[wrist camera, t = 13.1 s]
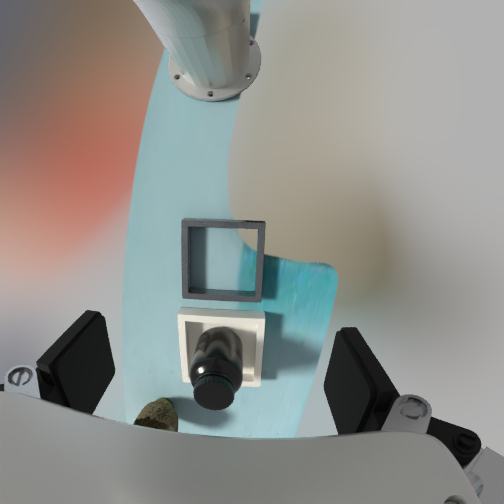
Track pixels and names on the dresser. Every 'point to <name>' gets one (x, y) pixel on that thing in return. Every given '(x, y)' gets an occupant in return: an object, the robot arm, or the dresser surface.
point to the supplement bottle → (217, 368)
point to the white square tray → (238, 321)
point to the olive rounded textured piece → (158, 416)
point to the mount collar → (211, 293)
